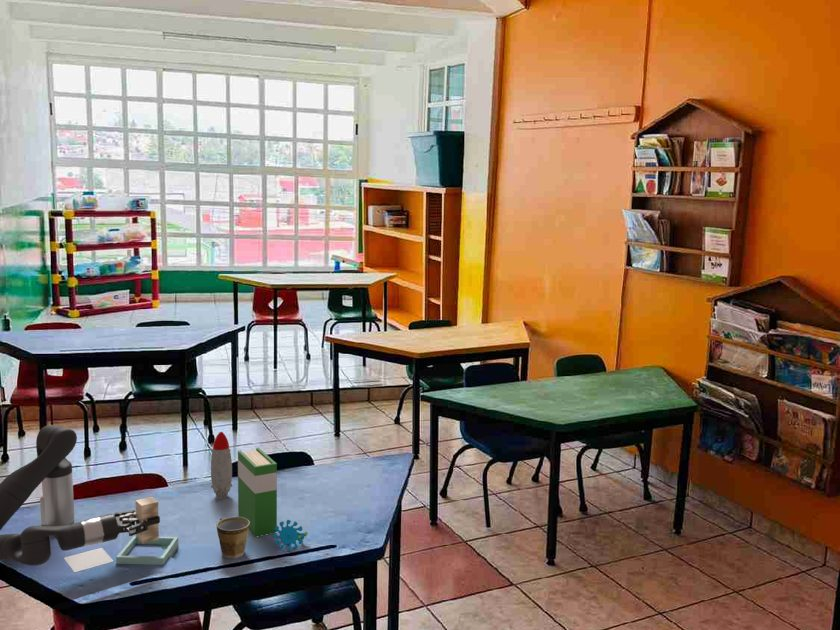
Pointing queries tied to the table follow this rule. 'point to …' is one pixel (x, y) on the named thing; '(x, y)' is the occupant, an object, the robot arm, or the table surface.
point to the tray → (165, 543)
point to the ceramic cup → (233, 536)
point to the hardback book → (257, 491)
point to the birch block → (144, 511)
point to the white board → (88, 559)
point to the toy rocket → (221, 466)
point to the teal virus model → (289, 535)
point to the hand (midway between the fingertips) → (155, 516)
